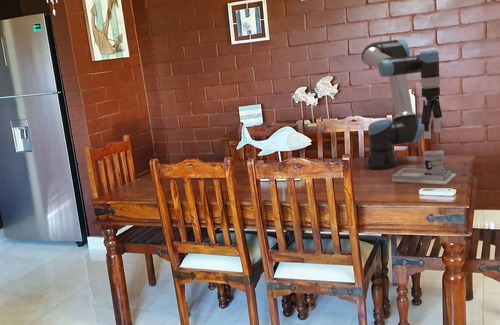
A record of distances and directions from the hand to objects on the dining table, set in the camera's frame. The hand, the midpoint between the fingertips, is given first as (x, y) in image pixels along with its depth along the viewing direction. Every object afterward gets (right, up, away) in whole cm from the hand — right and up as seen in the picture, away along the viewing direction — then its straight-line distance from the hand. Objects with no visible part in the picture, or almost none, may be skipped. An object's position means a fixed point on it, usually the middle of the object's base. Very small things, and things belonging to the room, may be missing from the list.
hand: (432, 135), depth 223 cm
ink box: (+2, -19, +4) cm, 19 cm away
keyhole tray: (-2, -19, +7) cm, 20 cm away
